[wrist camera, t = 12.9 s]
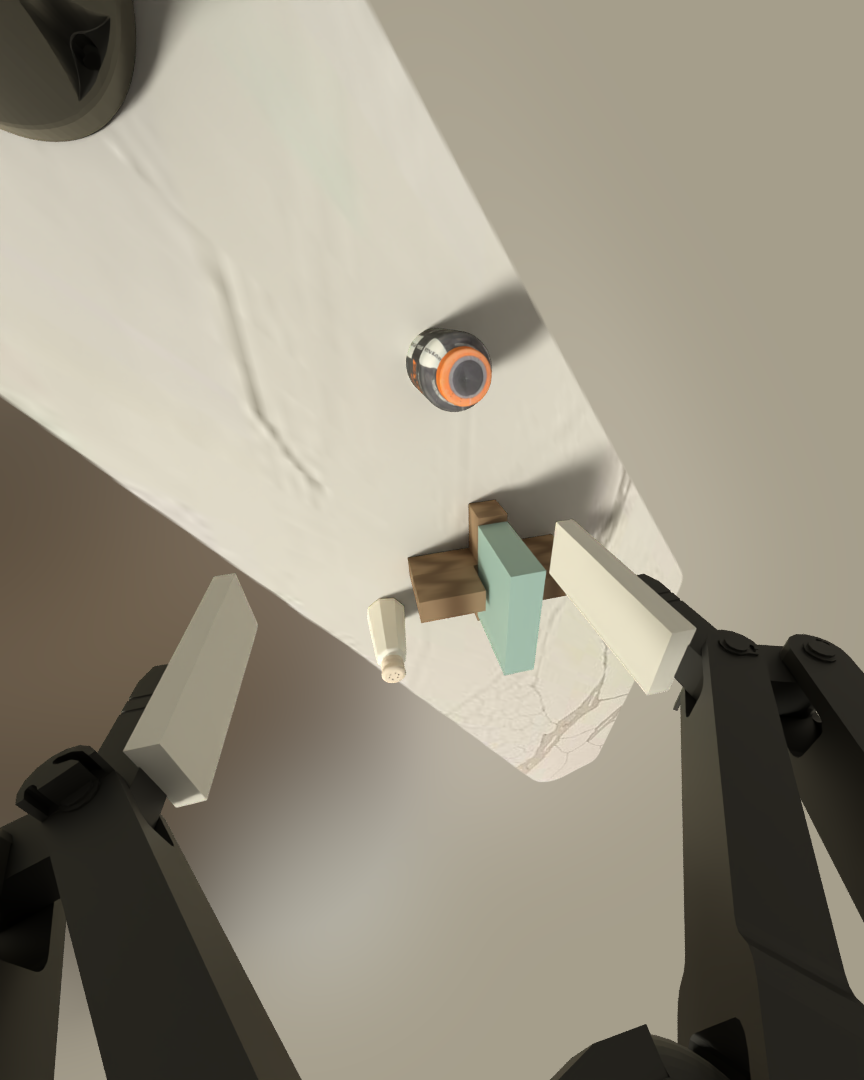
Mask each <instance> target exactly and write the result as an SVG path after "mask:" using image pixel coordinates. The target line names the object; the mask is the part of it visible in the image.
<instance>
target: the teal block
mask: <svg viewBox="0 0 864 1080" xmlns="http://www.w3.org/2000/svg"><path fill="white" fill-rule="evenodd" d="M478 576H479V578H480V580H481V582H482V584H483V586H484V588H485V590H486V611H482V612H478V617H479V619H480V621H481V624H482V626H483V628H484V630H485V633H486V635H487V637H488V639H489V642H490V644H491V646H492V648H493V651H494V653H495V655H496V658H497V660H498V662H499V664H500V667H501V669H502V671H503V673H504V675H509V674H514V673H518V672H523V671H527V670H532V669H534V662H535V655H536V647H537V639H538V631H539V624H540V616H541V608H542V600H543V593H544V585H545V577H546V570H545V568H544V567H543V566H542V565H541V563H540V562H539V561H538V560H537V558H536V557H535V556H534V555H533V553H532V552H531V551H530V550H529V548H528V547H527V546H526V545H525V543H524V542H523V541H522V540H521V538H520V537H519V536H518V535H517V533H516V532H515V531H514V530H513V528H512V527H511V526H510V525H509V523H508V522H507V521H506V522H499V523H493V524H486V525H480V526H478Z"/></svg>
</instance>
